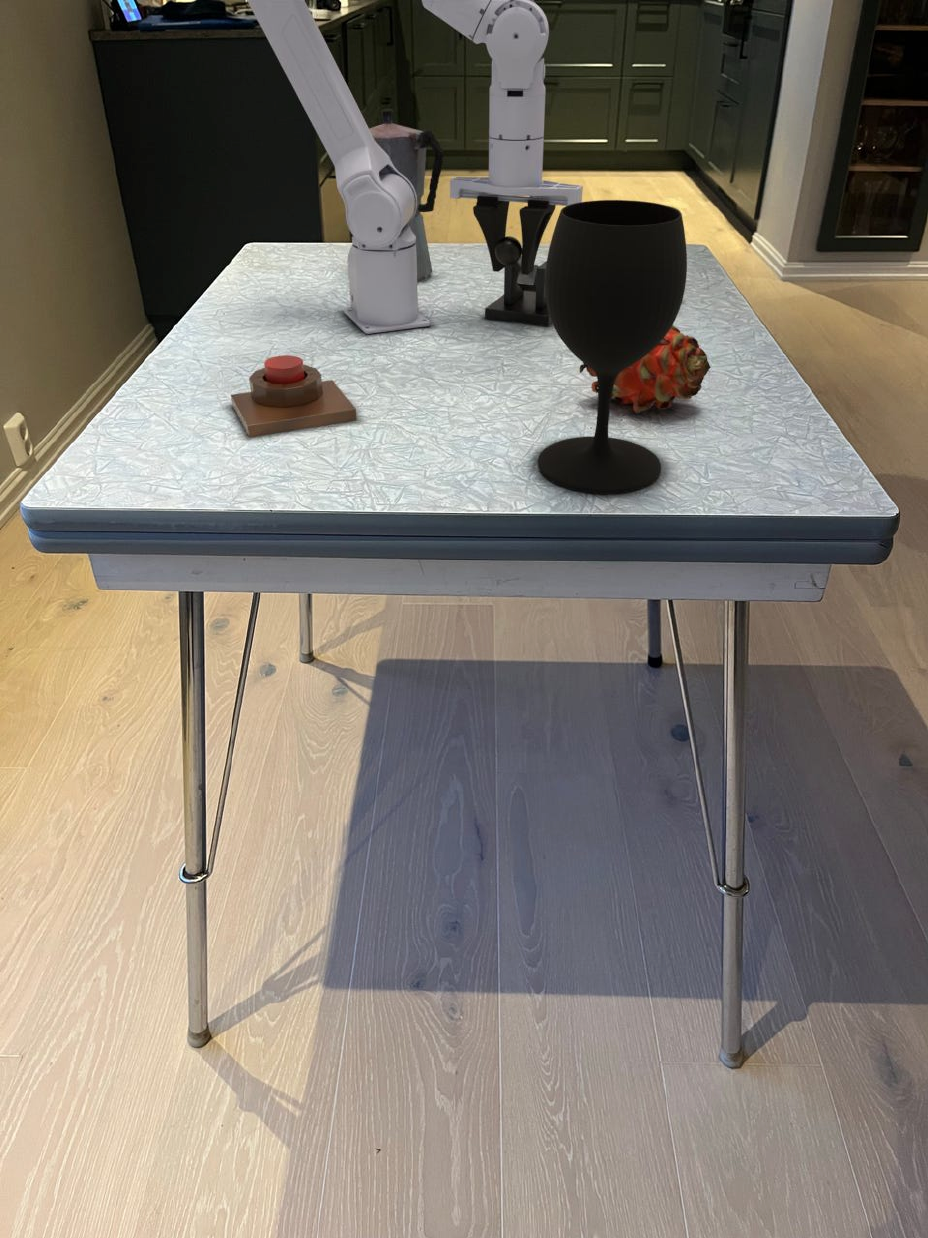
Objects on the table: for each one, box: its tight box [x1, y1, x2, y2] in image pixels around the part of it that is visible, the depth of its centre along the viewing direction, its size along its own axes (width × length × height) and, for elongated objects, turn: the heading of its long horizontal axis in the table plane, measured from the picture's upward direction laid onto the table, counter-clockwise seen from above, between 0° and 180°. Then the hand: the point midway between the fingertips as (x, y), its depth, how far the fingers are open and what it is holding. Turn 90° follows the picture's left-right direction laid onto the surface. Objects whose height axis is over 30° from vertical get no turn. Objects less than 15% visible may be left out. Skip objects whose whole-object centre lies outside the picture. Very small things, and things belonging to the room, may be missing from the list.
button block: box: [230, 364, 358, 439], centre depth 88 cm, size 10×9×3 cm
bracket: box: [484, 255, 552, 327], centre depth 113 cm, size 9×8×6 cm
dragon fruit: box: [579, 324, 712, 414], centre depth 88 cm, size 8×8×12 cm
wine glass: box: [537, 199, 688, 495], centre depth 73 cm, size 10×10×20 cm
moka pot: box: [369, 108, 444, 280], centre depth 122 cm, size 10×15×20 cm, turn 54°
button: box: [263, 354, 305, 384], centre depth 88 cm, size 4×4×2 cm
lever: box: [495, 235, 540, 292], centre depth 108 cm, size 12×3×3 cm
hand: (513, 270), depth 106 cm, fingers closed on lever, 3 cm apart
